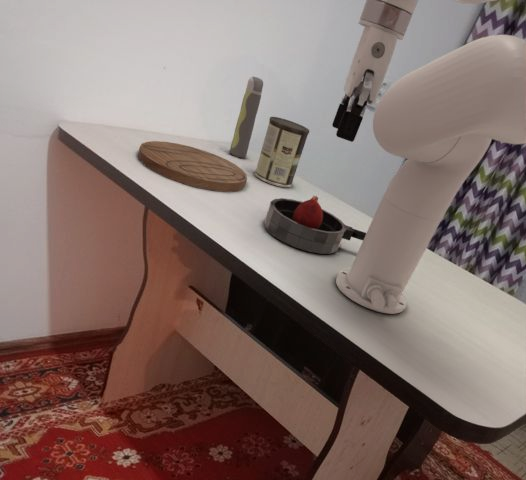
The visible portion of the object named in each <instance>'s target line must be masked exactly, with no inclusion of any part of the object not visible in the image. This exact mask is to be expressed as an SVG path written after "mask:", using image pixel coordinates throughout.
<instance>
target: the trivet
mask: <svg viewBox="0 0 526 480" xmlns="http://www.w3.org/2000/svg"><path fill="white" fill-rule="evenodd" d="M137 157H138V158H139V161H140V162H141V163H142V164H143V165H144V166H145V167H146V168H148V169H150V170H151V171H153V172H154V173H156V174H159V175H161V176H162V177H165V178H167V179H170V180H172V181H175V182H178V183H181V184H183V185H187V186H191V187H194V188H197V189H203V190H208V191H213V192H223V193H227V192H228V193H230V192H238V191H241V190H243V189H245V188H246V184H247V181H248V175H247V173H246V172H245V171H244V170H243V169H242V168H241V167H240V166H238V165H237V164H235V163H233V162H231V161H230V160H228V159H226V158H224V157H221V156H219V155H217V154H215V153H212V152H209V151H206V150H203V149H200V148H196V147H193V146H190V145H186V144H181V143H175V142H169V141H159V140H153V141H152V140H151V141H146V142H143V143H141V144H140V146H139V148H138V156H137Z"/></svg>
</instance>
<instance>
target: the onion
mask: <svg viewBox="0 0 526 480" xmlns="http://www.w3.org/2000/svg"><path fill="white" fill-rule="evenodd" d="M318 201H319V197H318V196H317V195H313V196H312V197H311V198H310V199H307V200H304V201H301V202H302V203H301V204H299V205H298V207H297V208H296V210H295V212H294V214H293V221H295V222H297V223H300V224H302V225H304V226H307V227H310V228H314V229H318V228H319V227H320V225H321V223H322V220H323V212H322V209H323V208H322V206H321V204H319V202H318Z"/></svg>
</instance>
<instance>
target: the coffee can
mask: <svg viewBox="0 0 526 480" xmlns="http://www.w3.org/2000/svg"><path fill="white" fill-rule="evenodd" d="M265 132H266V133H265V136H264V140H263V144H262V147H261V151H260V155H259V158H258V162H257V165H256V169H255V171H254V176H255V177H256V178H257V179H258V180H260V181H262V182H264V183H266V184H269V185H273V186H275V187H278V188H279V187H280V188H291V187H292V185H293V182H294V178H295V175H296V173H297V169H298V167H299V163H300V160H301V157H302V155H303V151H304V147H305V144H306V141H307V139H308V136H309V134H310V129H308V127H306V126H303V125H302V124H299V123H298V122H294V121H291V120H288V119H285V118H282V117H278V116H270V117H269V121H268V125H267V129H266V131H265Z"/></svg>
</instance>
